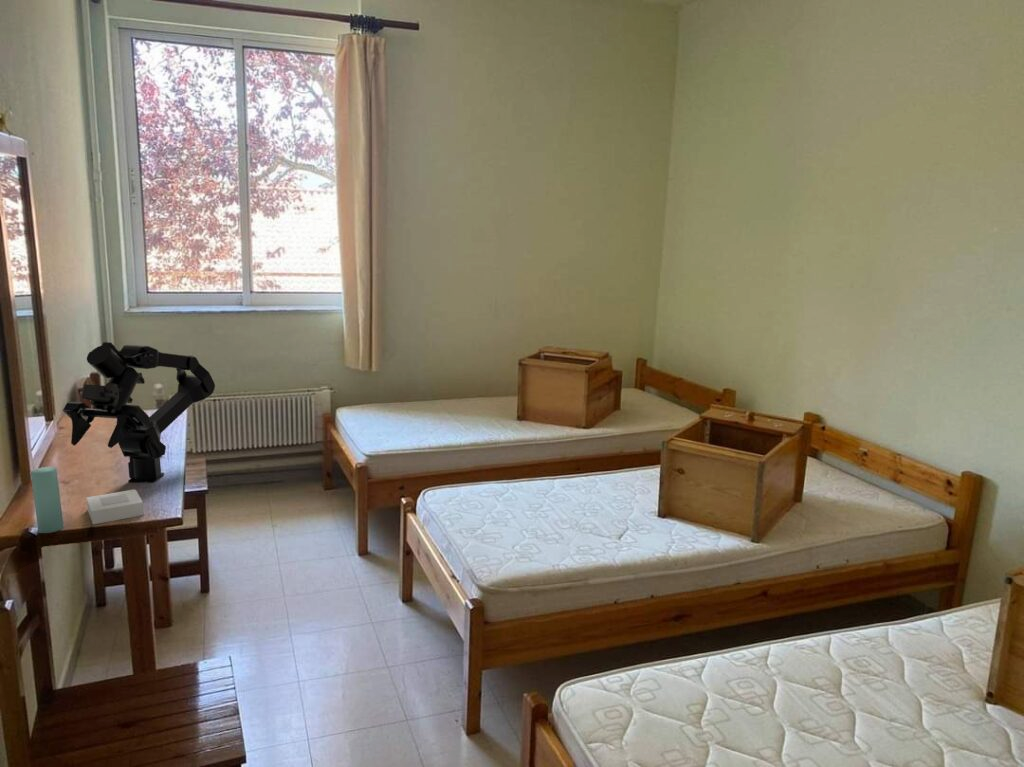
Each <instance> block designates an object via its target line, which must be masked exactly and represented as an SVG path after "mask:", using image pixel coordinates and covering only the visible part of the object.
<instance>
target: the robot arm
mask: <svg viewBox="0 0 1024 767" xmlns="http://www.w3.org/2000/svg"><path fill="white" fill-rule="evenodd" d="M86 362H87V363H88V364H89V365H90V366H91V367H92V368H93V369H94V370H95V371H97V372H98V373H99V374H100V376H102V377H103V378H105V379H109V380H108V382H106V384H105V385H100V384H85V383H84V384H83V386H82V391H81V394H80V399H82V400H83V399H86V400H89V401H90V402H89V403H90V405H92V406H93V407H94V406H95V408H90V407H89V406H88V405H87V404H86V403H85V402H82V401H79V402H78V401H70V402H66V404H64V407H63V409H62V412H64V414H65V415H66V416H67V417H68V418H70V419H71V424H72V425H71V426H72V428H71V440H70V444H71V445H72V446H76V445H77V444H78V443H80V441H81V440H82V438H83V437H84V436H85V434H86V433H87V432H88V431H89V430H90V428H91V427H92V424H91V423H92V422H93V421H94V419H95V418H106V419H116V425H115V427H114V429H113V431H112V433H111V436H110V437H109V440H108V443H107V447H108V448H109V449H112V448H113V447H115V446H116V445H117V444H118V445H119V448H120V451H121V453H122V455H123V457H125V458H126V457H128V458H129V461H128V462H127V466H128V468H127V469H128V478H129V479H128V481H127V482H128V483H155V482H157V481H158V480H160V478H162V477H164V475H165V472H162V468H161V466H162V465H161V458H162V457H163V456H164V455H165V454H166V449H167V446H166V445H165V444H164V443H163V442H162V441H161V435H162V433H163V432H164V431H165V430H166V429H167V428H168V427H169V426H170V425H171V424H172V423H174V422H175V421H176V420H177V419H178V418H179V416H181V415H182V414H183V413H184V412H185V411H186V410H187V409H188V408H189V407H190V406H191V405H193V404H194V403H199V402H201V401H204V400H206V399H208V398H209V397H210V396H212V395H213V393H214V391H215V388H216V384H215V380H214V379H213V378H212V375H211V374H210V372H209V371H208V370H207V368H205V367H204V366H203V365H201V364H200V362H199V360H198V358H197V357H196V356H194V355H189V354H188V355H187V354H173V353H167V352H161V351H159V350H158V349H156V348H155V347H151V346H148V345H137V344H136V345H135V344H124V345H123V347H121V349H120V350H118V349H117V348H116V347H115V344H113V342H109V341H108V342H107V341H103V343H102V344H101V345H99V346H97V347H95V348H93V349H92V350H91V351H90V352H88V354H87V357H86ZM157 367H159V368H160V367H161V368H168V369H176V371H177V372H176V381H177V383H178V384H177V391H176V393H175V394H173V395H172V396H171V397H170V398H169V399H168V400H166V402H164V403H163V404H162V405H161V406H160V407H158V408H157V410H156V411H155V412H153V413H152V414H151V415H150V416H149V415H148V414H147V412H146V411H145V410H143V408H142V407H141V406H140V405H135V404H133V405H132V402H133V400H134V399H133V398H132V397H131V396H132V394H133V392H134V390H135V388H136V386H137V385H138V384H139V385H142V384H145V378H144V376H143V374H142V372H138V371H137V370H136V369H138V370H139V369H141V370H150V369H155V368H157ZM186 371H190V373H192V374H187V372H186ZM130 404H131V405H130ZM157 479H158V480H157ZM156 480H157V481H156ZM154 481H155V482H154Z"/></svg>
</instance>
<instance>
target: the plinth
mask: <svg viewBox="0 0 1024 767" xmlns="http://www.w3.org/2000/svg"><path fill="white" fill-rule="evenodd" d="M85 500H86V506H87V509H86V510H87V512H88V515H89V517H90V520H91V522H92V525H97V524H103V523H108V522H113V521H118V520H123V519H124V520H125V519H130V518H135V517H141V516H144V515H145V511H144V503H143V499H142V498H141V497H140V495H139V493H138V491H137V490H136V489H128V490H123V491H118V492H117V491H116V492H111V493H105V494H100V495H98V494H97V495H93V496H88V497H87V496H86V499H85Z"/></svg>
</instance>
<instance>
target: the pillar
mask: <svg viewBox="0 0 1024 767" xmlns="http://www.w3.org/2000/svg"><path fill="white" fill-rule="evenodd" d="M30 478H31V485H32V486H31V487H32V493H33V495H32V496H33V500H34V501H33V502H34V509H35V510H34V511H35V518H36V525H37V531H38V533H40V534H50V533H55V532H56V533H57V532H58V531H61V530H62V529H63V528H64V520H63V511H62V503H61V502H62V500H61V494H60V485H59V479H58V469H57V467H55V466H43V467H38V468H35V469H32V470H31V471H30Z"/></svg>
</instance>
